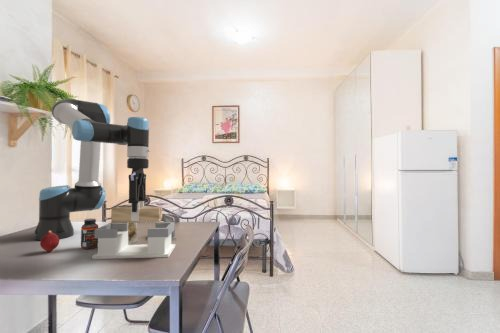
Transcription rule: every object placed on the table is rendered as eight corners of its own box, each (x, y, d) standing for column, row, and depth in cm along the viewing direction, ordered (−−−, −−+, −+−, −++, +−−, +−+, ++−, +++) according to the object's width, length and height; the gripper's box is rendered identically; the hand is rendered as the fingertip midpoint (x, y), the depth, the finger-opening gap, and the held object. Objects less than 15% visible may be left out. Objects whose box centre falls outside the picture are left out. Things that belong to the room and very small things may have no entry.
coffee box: (124, 247, 110) (124, 207, 110) (110, 246, 111) (110, 206, 111) (137, 241, 119) (138, 204, 119) (124, 240, 120) (124, 204, 120)
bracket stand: (109, 247, 109) (109, 222, 109) (175, 246, 112) (175, 221, 112) (92, 259, 95) (92, 230, 95) (168, 257, 98) (168, 229, 98)
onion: (62, 250, 105) (63, 229, 105) (47, 254, 100) (47, 233, 100) (52, 249, 107) (52, 228, 107) (36, 253, 102) (36, 231, 102)
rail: (117, 220, 105) (117, 207, 105) (162, 219, 107) (162, 206, 107) (111, 222, 100) (111, 209, 100) (159, 221, 102) (159, 208, 102)
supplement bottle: (85, 250, 105) (86, 221, 105) (77, 248, 108) (78, 219, 109) (101, 246, 110) (101, 218, 111) (93, 244, 114) (93, 217, 114)
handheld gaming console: (146, 237, 127) (146, 215, 127) (165, 234, 133) (166, 213, 133) (155, 243, 117) (155, 219, 117) (176, 240, 122) (176, 217, 122)
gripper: (140, 157, 95) (140, 223, 95) (154, 159, 113) (153, 215, 113) (118, 156, 95) (118, 224, 94) (135, 159, 113) (135, 215, 112)
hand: (137, 219), depth 104 cm, fingers closed on rail, 5 cm apart
